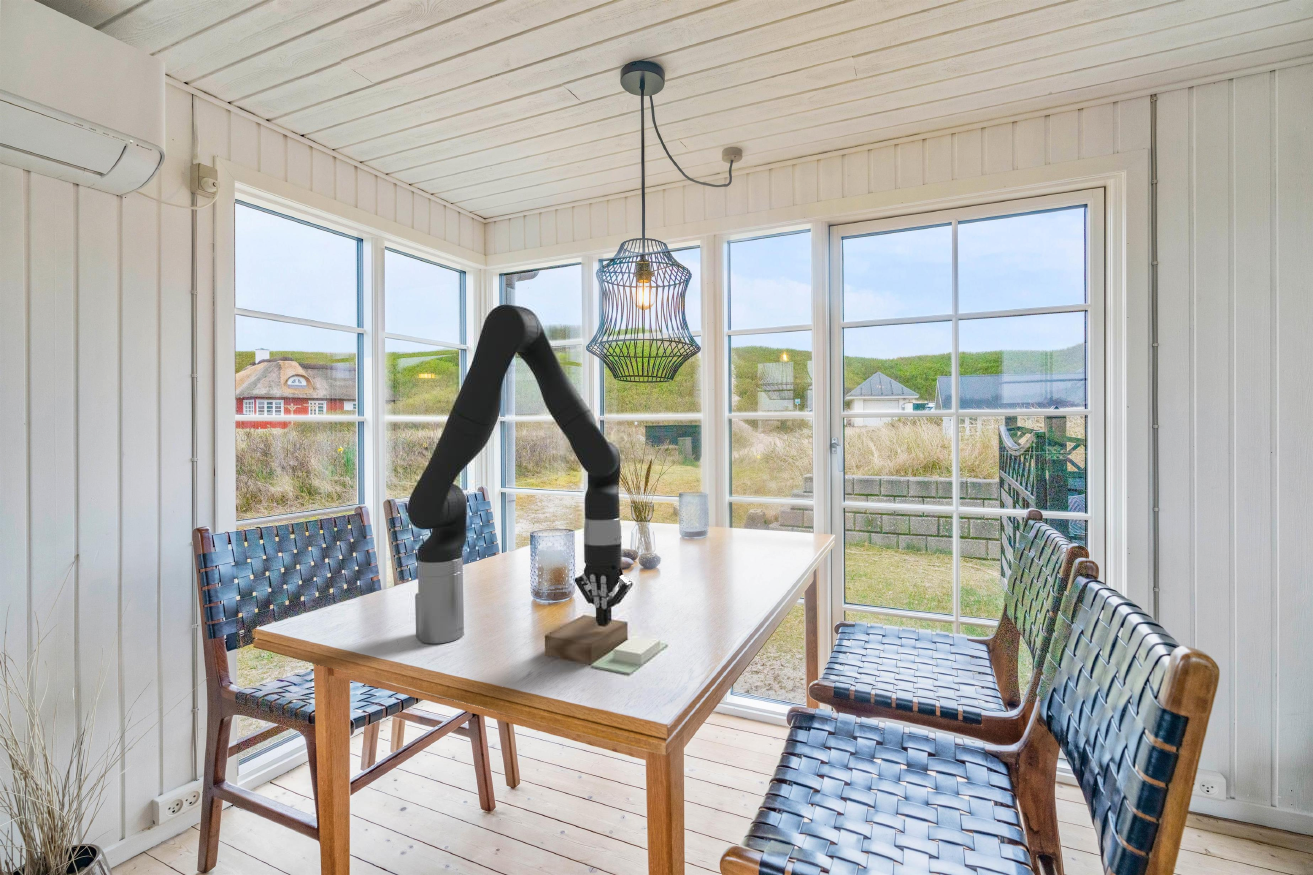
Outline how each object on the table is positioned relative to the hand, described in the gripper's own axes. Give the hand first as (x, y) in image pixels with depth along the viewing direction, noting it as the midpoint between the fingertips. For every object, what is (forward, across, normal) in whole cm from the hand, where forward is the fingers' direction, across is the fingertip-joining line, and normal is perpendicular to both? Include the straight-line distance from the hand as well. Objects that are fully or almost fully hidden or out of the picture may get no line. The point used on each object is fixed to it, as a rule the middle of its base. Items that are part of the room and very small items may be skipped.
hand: (603, 625), depth 122 cm
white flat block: (+3, +8, 0) cm, 8 cm away
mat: (+5, +6, 0) cm, 8 cm away
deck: (+5, -4, 0) cm, 7 cm away
